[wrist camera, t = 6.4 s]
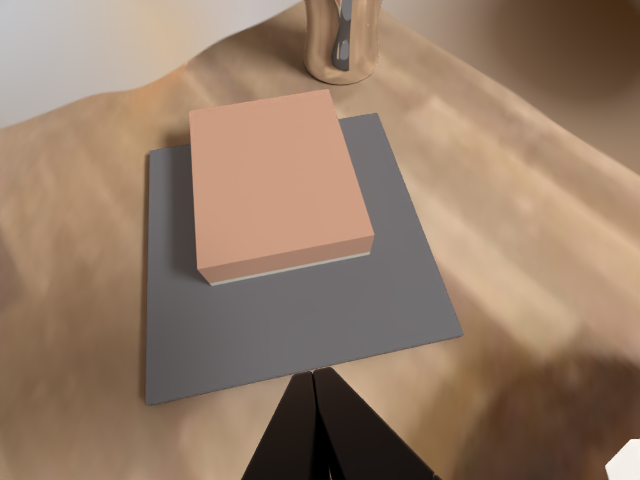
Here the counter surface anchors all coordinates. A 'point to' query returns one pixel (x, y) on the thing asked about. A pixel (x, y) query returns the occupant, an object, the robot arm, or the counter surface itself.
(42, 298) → the counter surface
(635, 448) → the knife
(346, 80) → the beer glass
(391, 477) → the robot arm
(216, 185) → the tile
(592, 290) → the counter surface
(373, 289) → the mat
